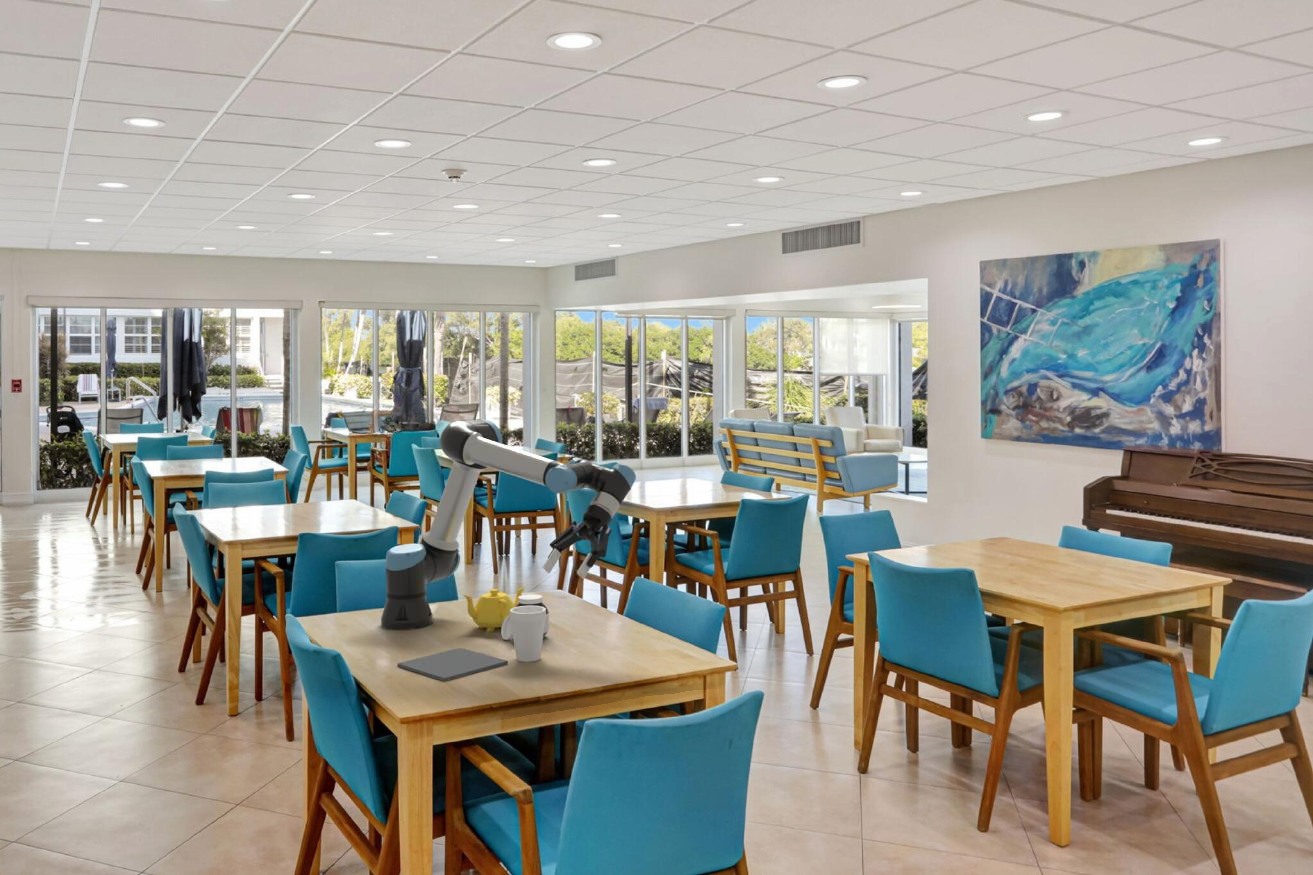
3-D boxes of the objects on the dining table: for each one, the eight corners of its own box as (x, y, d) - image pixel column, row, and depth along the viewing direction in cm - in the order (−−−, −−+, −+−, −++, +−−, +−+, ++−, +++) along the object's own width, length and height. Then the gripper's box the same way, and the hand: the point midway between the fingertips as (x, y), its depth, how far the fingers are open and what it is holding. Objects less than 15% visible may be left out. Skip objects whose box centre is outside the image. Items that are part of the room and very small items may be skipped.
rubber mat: (397, 666, 264) (397, 663, 264) (460, 650, 278) (460, 647, 278) (444, 681, 250) (444, 678, 250) (508, 663, 265) (507, 660, 265)
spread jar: (553, 636, 293) (552, 596, 292) (528, 645, 283) (528, 603, 283) (520, 631, 299) (519, 591, 298) (495, 640, 289) (494, 599, 289)
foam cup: (522, 665, 264) (521, 615, 263) (503, 657, 271) (503, 609, 270) (553, 658, 270) (552, 609, 269) (534, 651, 277) (533, 603, 276)
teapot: (474, 638, 291) (473, 598, 290) (454, 628, 304) (454, 589, 303) (538, 628, 302) (537, 590, 301) (516, 619, 314) (515, 582, 314)
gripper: (639, 523, 282) (602, 586, 271) (577, 517, 298) (539, 575, 288) (626, 506, 278) (587, 569, 267) (563, 500, 294) (524, 559, 284)
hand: (562, 573), depth 278 cm, fingers open, 13 cm apart
